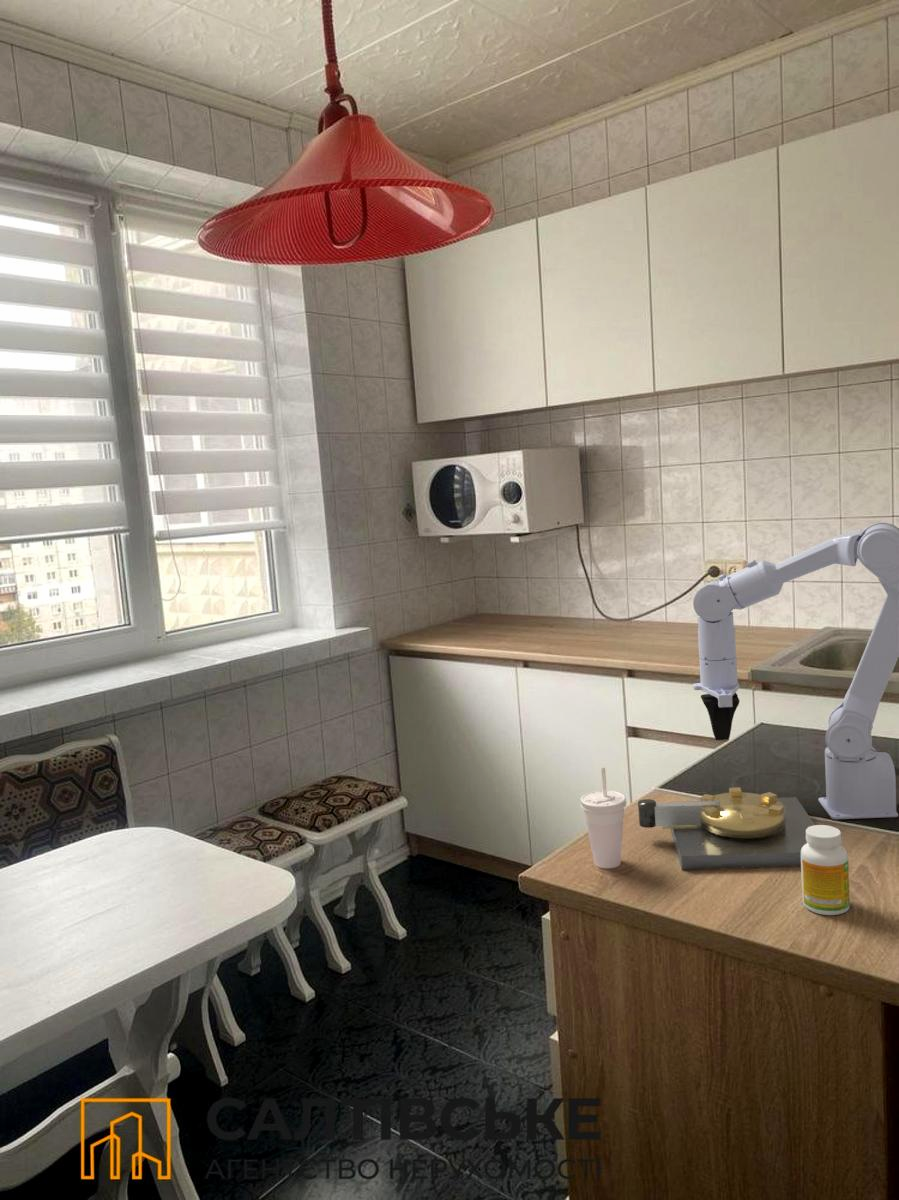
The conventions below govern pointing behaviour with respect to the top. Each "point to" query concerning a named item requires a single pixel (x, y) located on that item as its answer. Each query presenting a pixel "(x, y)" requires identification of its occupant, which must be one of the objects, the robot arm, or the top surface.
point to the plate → (744, 844)
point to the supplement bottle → (824, 871)
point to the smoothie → (605, 824)
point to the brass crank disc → (720, 814)
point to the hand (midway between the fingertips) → (721, 738)
